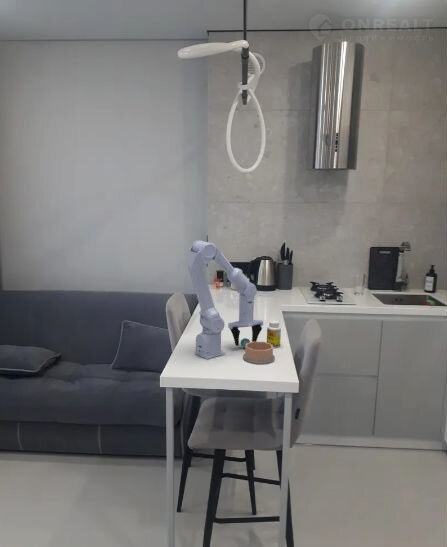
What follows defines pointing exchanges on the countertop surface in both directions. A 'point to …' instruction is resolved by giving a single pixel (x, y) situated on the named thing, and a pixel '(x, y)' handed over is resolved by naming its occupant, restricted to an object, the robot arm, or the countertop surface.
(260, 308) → the countertop surface
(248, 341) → the ball
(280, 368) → the countertop surface
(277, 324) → the supplement bottle
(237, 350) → the countertop surface
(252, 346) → the octagonal bowl
